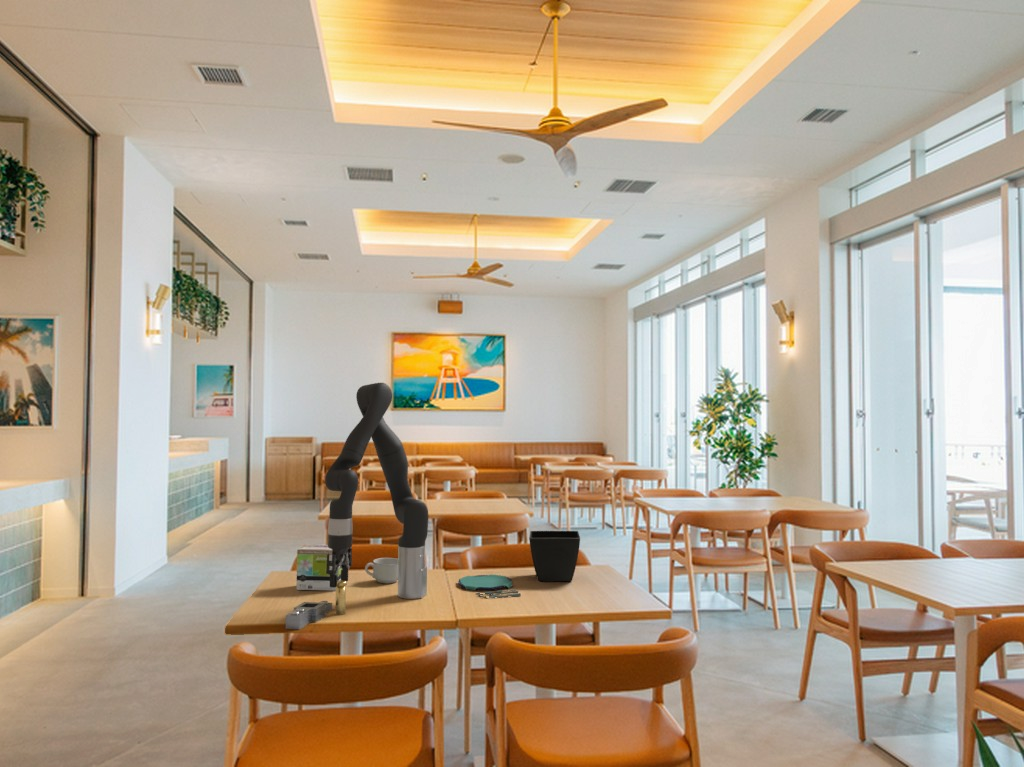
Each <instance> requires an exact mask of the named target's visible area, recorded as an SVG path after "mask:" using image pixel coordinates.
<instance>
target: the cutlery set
mask: <svg viewBox="0 0 1024 767" xmlns="http://www.w3.org/2000/svg"><path fill="white" fill-rule="evenodd" d="M457 582H458V585H460V586H461V587H463V588H465V589H466V590H469V591H475V590H482V591H483V590H495V591H483V592H475V595H482V596H484V595H483V594H480V593H485V594H492V595H488V596H489V598H494V597H497V598H502V597H504V598H508V597H507V596H514V597H521V593H519V591H518V590H516V589H513V590H512V589H511V588H512V587H513V579H512V578H509V577H507V576H506V575H501V574H500V575H499V574H492V573H491V574H480V575H479V574H478V575H466V576H463V577H461V578H459V579H458V581H457ZM506 587H507V589H508V590H501V589H502V588H506ZM497 589H499V590H497ZM510 589H511V590H510ZM509 590H510V591H509ZM499 592H501V593H499ZM500 594H501V595H500ZM505 594H506V595H505ZM494 599H495V598H494Z"/></svg>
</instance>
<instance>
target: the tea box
mask: <svg viewBox="0 0 1024 767" xmlns="http://www.w3.org/2000/svg"><path fill="white" fill-rule="evenodd" d="M332 551H333V550H332V549H330V548H328V544H323V545H322V544H304V545H302V546H301V547H300V548H298V549H297V551H296V591H331V592H336V587H335V588H333V587H330V575H329V574H326V567H327V555H328V554H332ZM329 570H330V567H329ZM335 570H336V569H335ZM341 570H342V569H341V568H340V569H339V570H338V574H337V581H339V580H341Z"/></svg>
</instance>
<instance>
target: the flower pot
mask: <svg viewBox="0 0 1024 767" xmlns="http://www.w3.org/2000/svg"><path fill="white" fill-rule="evenodd" d="M528 540H529V547H530V553H531V559H532V563H533V568H534V572H535V576H536V579H537V581H538V580H539V582H571V581H573V578H574V574H575V570H576V567H577V562H578V557H579V551H580V544H581V536H580V533H579V531H578V530H530V532H529V539H528Z"/></svg>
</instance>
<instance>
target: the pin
mask: <svg viewBox="0 0 1024 767" xmlns="http://www.w3.org/2000/svg"><path fill="white" fill-rule="evenodd" d="M347 584H348V581H345V580H339V581H337V587H336V591H335V615H336V616H343V615H346V586H348V585H347Z"/></svg>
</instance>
